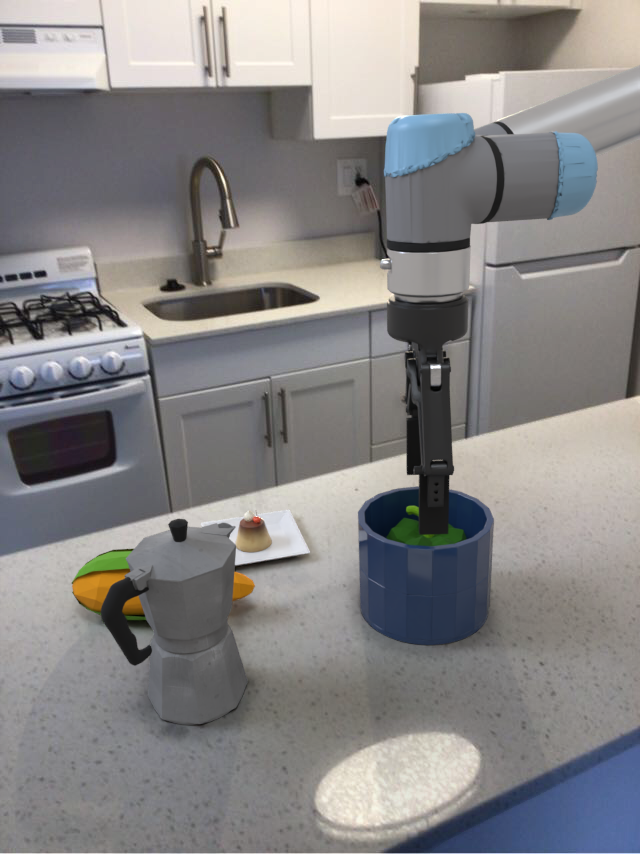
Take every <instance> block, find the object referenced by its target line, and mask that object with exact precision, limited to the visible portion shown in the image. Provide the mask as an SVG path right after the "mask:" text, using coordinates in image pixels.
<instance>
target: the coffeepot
mask: <svg viewBox="0 0 640 854" xmlns="http://www.w3.org/2000/svg"><path fill="white" fill-rule="evenodd" d="M167 525H168V528H169V529H167V530H164V531H161V532H158V533H155V534H152V535H149V536H148V535H147V536H144V537H142V539H141V540H140V541H139V543H138V544H137V545H136V546H135V547H134V548H135V549H134V548H133V549H134V550H133V551H132V552H131V553H130V554H129V555H128V557H127V558H126V560H127V562H128V565H129V568H130V571H131V572H129V573H128V574H126V575H125V578H124V579H122V580H120V581H118V582H116V583H114V584H113V585H112V586H111V587H110V589H109V591H108V593H107V596H106V598H105V600H104V602H103V604H102V607H101V615H100V617H101V619H102V622H103V624H104V626H105V627H106V628H107V630H108V631H109V633H110V634H111V636H112V638H113V640H114V641H115V643H116V644H117V646H118V647H119V649H120V650H121V652H122V654H123V656H124V657H125V658H126V660H127V662H128V664H130V665H132V666H138V665H140V664H142V663H143V662H145V661H146V660H147V659H148V658H149V664H148V668H149V669H148V684H147V698H148V700H149V701H150V703H151V705H152V707H153V709H154V711H155V712H156V713H157V714H158V716H159V717H160V719H161V720H163V721H166V722H168V723H169V722H170V723H173V724H177V725H183V726H184V725H185V726H193V725H202V724H207V723H211V722H213V721H216V720H219V719H221V718H222V717H224V716H226V715H228V714H229V713H230V712H231V711H233V710H234V709H236V708H237V707H238V705H239V703H240V702H241V700H242V698H243V695H244V694H245V689H246V687H247V686H248V683H249V680H248V677H247V673H246V670H245V667H244V663H243V661H242V657H241V655H240V651H239V647H238V644H237V641H236V637H235V634H234V631H233V628H232V626H231V625H230V624H229V619H228V617H229V616H230V613H231V611H232V609H233V602H232V598H233V584H234V571H236V570H235V569H236V566H235V556H236V544H234V543H233V542H232V541H231V540H230V539H229V537H230V534H231V533H232V531H233V530H234V529H235V528H236V527H235V526H231V525H230V524H228V523H220V524H217V523H215V524H211V525H208V526H204V527H201V526H189V522H188V520H187V519H186V518H176V519H175V518H174V519H172V520H170V521H169V522H168V524H167ZM136 596H139V599H140V602H141V605H142V608H143V611H144V614H145V615H144V617H146V620H145V621H146V622H147V624H148V625H149V626H150V628H151V630H153V631H152V632H153V635H152V638H151V640H150V644H148V645H147V646H146V647H143V648H140V649H139V646H138V640H137V636H136V635H135V634H134V633H133V632H132V630H131V628H130V626H129V623H128V620H127V619H126V617H125V616H126V615H124V614H123V613H122V610H123V607H124V604H125V603H126V602H127V601H128V600H130V599H131V598H134V597H136Z"/></svg>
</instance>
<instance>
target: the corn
mask: <svg viewBox="0 0 640 854" xmlns="http://www.w3.org/2000/svg"><path fill="white" fill-rule="evenodd" d="M134 549H135V547H134V548H120V549H119V548H118V549H117V548H116V549H112V550H109V551H105V552H103V553H100V554H98V555H96V556H94V557H93V558H92V559H90V560H89V561H87V562H86V563H85V564H84V565H83V566H82V567H80V569H79V570H78V572H77V573H76V575H75V576H74V578H73V579H72V582H71V583H70V584H71V587H72V595H73V596H74V598H75V599H76V601H77V603H78V604H79V605H81V606H82V607H83V608H84V609H86V610H87V611H89V612H92V613H95V614H97V615H99V616H101V607H102V604H103V602H104V600H105V598H106V596H107V593H108V591H109V589H110V587H111V586H112V585H113V584H114V583H116V582H118V581H120V580H122V579H124V578H125V575H126V574H128V573H129V572H131V571H130V568H129V565H128V562H127V560H126V558H127V557H128V555H129V554H130V553H131V552H132V551H133V550H134ZM255 588H256V584H255V583H254V581H253V579H251V578H250V577H248V576H247V575H245V574H244V573H242V572H237V571H236V570H234V584H233V598H232V603H233V602H236V601H239V600H242V599H244V598H246V597H247V596H249V595H251V594H252V593H253V591H254V589H255ZM122 613H123V614H124V615H125V617H126V619H127V621H147V620H146V617H145V614H144V611H143V608H142V605H141V602H140V599H139V596H136V597H134V598H131V599H130V600H128V601H127V602H126V603H125V604H124V607H123V610H122Z"/></svg>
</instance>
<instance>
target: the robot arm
mask: <svg viewBox="0 0 640 854" xmlns="http://www.w3.org/2000/svg"><path fill="white" fill-rule="evenodd" d="M637 141H640V64H639V65H637V66H634V67H632V68H628V69H626V70H623V71H621V72H619V73H615V74H614V75H611V76H609V77H606V78H603V79H600V80H597V81H595V82H592V83H589V84H586V85H585V86H582V87H580V88H576V89H573V90H572V91H569V92H567V93H564V94H562V95H559V96H556V97H553V98H552V99H548V100H546V101H544V102H540V103H538V104H536V105H533V106H531V107H528V108H525V109H523V110H520V111H518V112H514V113H513V114H510V115H506V116H504V117H502V118H500V119H497V120H495V121H493V122H491V123H488V124H484V125H481V126H479V127H477V128H475V125H474V119H473V117H472V116H471V115H470V114H469V113H467V112H457V113H455V112H450V113H449V112H447V113H426V114H411V115H409V114H408V115H399V116H397V117H395V118H394V119H393V120H391V121H390V123H389V124H388V126H387V130H386V141H385V149H384V151H385V152H384V153H385V154H384V169H383V177H384V182H385V183H384V185H385V188H384V189H385V212H386V213H385V215H386V217H385V218H386V219H385V220H386V254H387V256H388V257H389V258H384V259H381V260H380V261H379V268H380V269H381V270H384V271H387V273H386V288H387V290H388V292H390V293H391V295H390V296H389V297H388V299H387V300H386V331H387V334H388V336H389V337H390V338H392V339H394V340H395V341H399V342H402V343H406V344H407V351H404V356H403V358H404V367H405V393H404V397H403V402H405V413H406V415H407V417H406V419H405V420H406V421H405V422H406V425H405V427H406V429H405V430H406V431H405V432H406V436H405V438H406V440H405V441H406V443H405V444H406V461H405V462H406V463H405V464H406V466H405V467H406V469H405V470H406V476H418V486H419V535H430V534H448V523H449V489H450V476H453V475H454V473H455V465H454V457H453V455H454V454H453V433H452V432H453V431H452V411H451V410H452V409H451V373H452V367H451V360H450V356H449V357H447V350H444V349H443V347H444V345H445V344H446V343H448V342H450V341H451V342H454V341H457V340H460V339H462V338H464V336H466V335H467V333H468V330H469V329H468V328H469V298H468V297H467V295H465V294H464V293H465V292H467V291H468V290H469V289H470V280H471V279H470V277H471V276H470V275H471V250H472V249H471V247H472V245H471V235H472V234H471V233H472V232H471V231H472V225H483V224H487V223H498V222H499V223H500V222H501V223H502V222H514V221H516V222H517V221H530V220H545V219H546V220H547V221H551V220H553V219H555V218H560V217H567V216H573V215H576V214H578V213H579V212H581V211H582V210H583V209H585V207H586V206H587V205H588V204H589V202H591V200H592V197H593V196H594V193H595V190H596V188H597V182H598V181H597V179H598V178H597V177H598V170H599V165H598V164H599V163H598V157H600V156H603V155H605V154H607V153H610V152H613V151H615V150H618V149H620V148H623V147H625V146H628V145H631V144H633V143H635V142H637ZM409 416H410V417H409Z"/></svg>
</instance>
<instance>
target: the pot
mask: <svg viewBox="0 0 640 854" xmlns="http://www.w3.org/2000/svg"><path fill="white" fill-rule="evenodd" d="M408 506H417V507H419V485H418V486H416V485H415V486H406V487H398V488H394V489H393V488H392V489H390V490H387V491H383V492H380V493H377V494H375V495H373V496H372V497H370V498H369V499H367V500H365V501H364V502H363V504H362V505H361V506H360V508H359V509H358V511H357V531H358V533H357V535H358V537H357V538H358V572H359V573H358V577H359V578H358V579H359V580H358V581H359V607H360V612H361V615H362V617H363V618H364V620H365V621H366V623H367V624H368V625H369V626H370V627H371V628H373V630H375V631H377V632H378V633H380V634H382V635H384V636H385V637H387V638H390V639H393V640H394V641H395V640H396V641H399V642H402V643H407V644H412V645H421V646H435V645H437V646H438V645H446V644H452V643H454V642H458V641H461V640H465V639H466V638H468V637H470V636H472V635H474V634H475V633H477V632H478V631H479V630H480V629H481V628H482V627H484V625H485V623H486V621H487V619H488V617H489V612H490V611H489V610H490V606H491V594H492V593H491V592H492V591H491V590H492V569H493V551H494V550H493V547H494V532H495V531H494V529H495V528H494V527H495V518H494V516H493V514H492V511H491V509H490V507H488V506H487V505H486V504H485V503H484V502H482V501H481V500H480V499H479V498H477V497H475V496H472V495H470V494H467V493H465V492H463V491H460V490H455V489H451V488H449V524H450V525H451V526H452V527H454V528H457V529H462V530H464V533H465V535H466V538H467V539H466V540H464V541H461V542H458V543H455V544H448V545H439V546H419V545H408V544H404V543H400V542H396V541H392V540H388V539H387V536H388V534H389V532H390V531H391V529H392V528H394V527H395V526H396V525H397V524H398V523H399V522H400V521H401V520H402V519H403V518H408V519H413V520H417V521H419V517H418V516H417V515H414V514H412V515H408V513H407V512H406V507H408Z"/></svg>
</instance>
